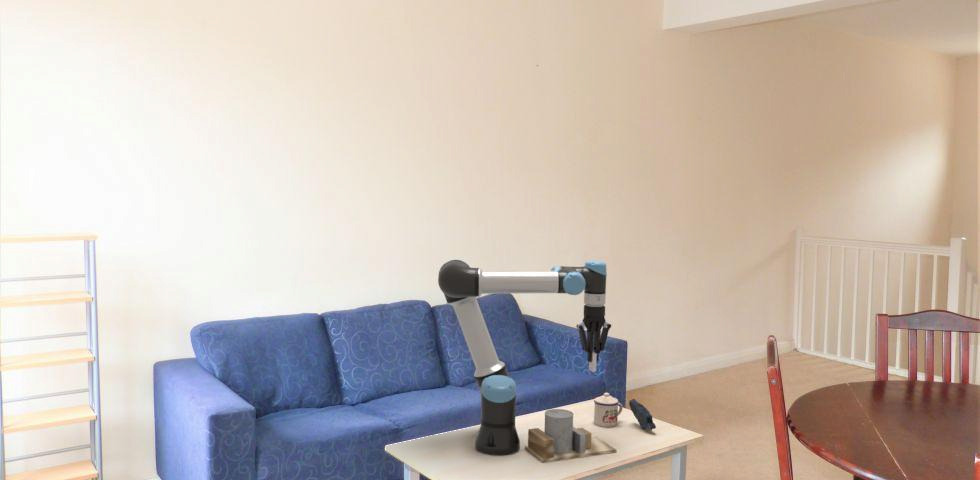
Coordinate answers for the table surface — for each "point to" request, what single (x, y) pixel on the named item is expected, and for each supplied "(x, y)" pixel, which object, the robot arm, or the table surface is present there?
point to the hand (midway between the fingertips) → (592, 370)
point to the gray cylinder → (560, 429)
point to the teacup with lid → (606, 410)
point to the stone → (642, 415)
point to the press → (544, 452)
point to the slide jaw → (581, 439)
